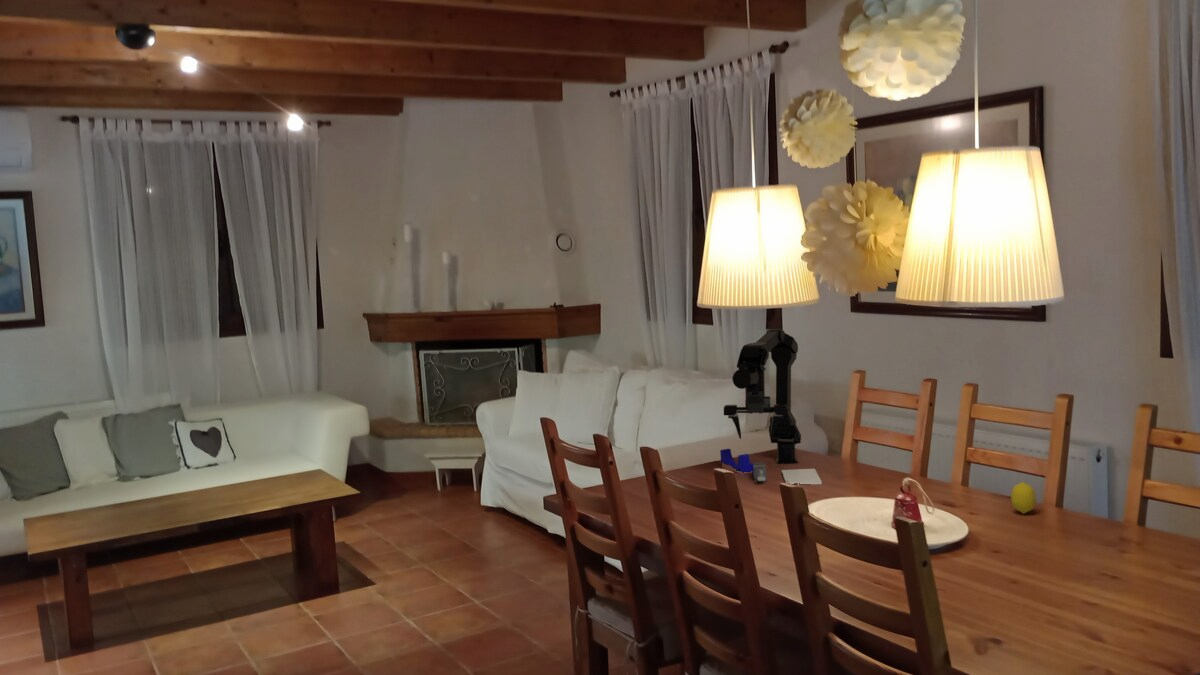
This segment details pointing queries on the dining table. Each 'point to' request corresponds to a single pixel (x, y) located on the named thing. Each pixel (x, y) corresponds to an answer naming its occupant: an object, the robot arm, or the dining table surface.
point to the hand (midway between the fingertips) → (755, 438)
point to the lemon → (1023, 497)
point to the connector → (759, 472)
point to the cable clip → (742, 463)
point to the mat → (801, 476)
